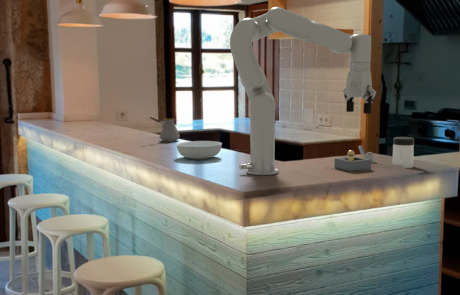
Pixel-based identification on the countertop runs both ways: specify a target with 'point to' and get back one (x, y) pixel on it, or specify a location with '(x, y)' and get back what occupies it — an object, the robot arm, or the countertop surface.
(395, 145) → the jar
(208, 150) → the serving bowl
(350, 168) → the grey square frame
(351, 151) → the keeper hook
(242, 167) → the robot arm
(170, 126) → the coffee pot
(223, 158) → the countertop surface
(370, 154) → the lighter
